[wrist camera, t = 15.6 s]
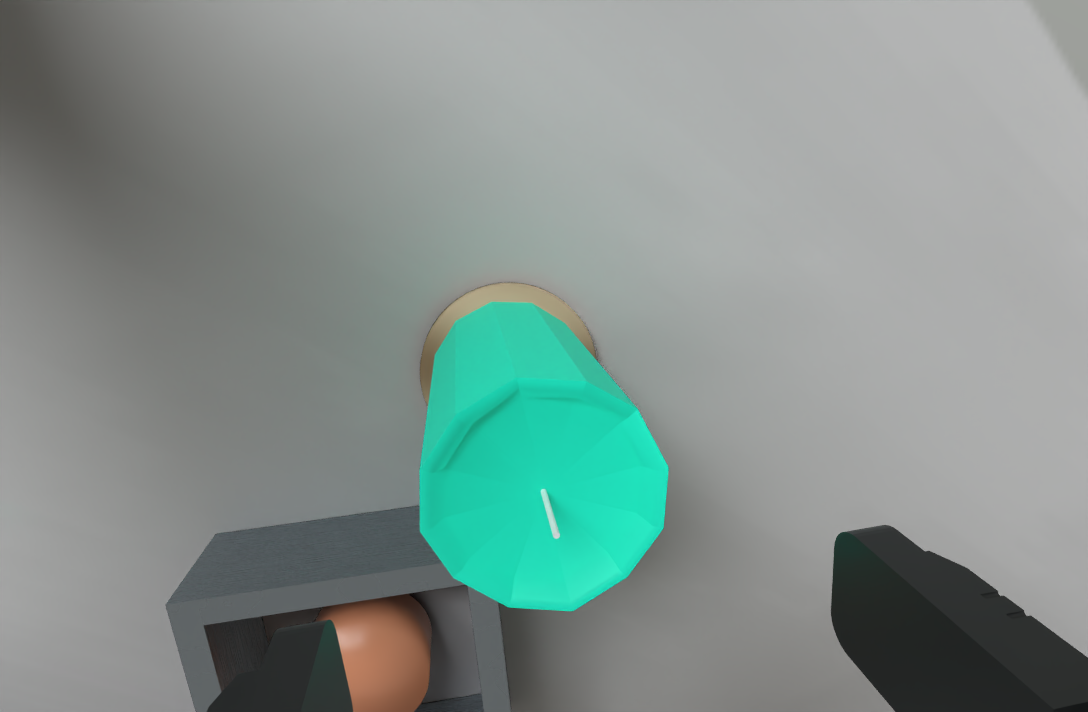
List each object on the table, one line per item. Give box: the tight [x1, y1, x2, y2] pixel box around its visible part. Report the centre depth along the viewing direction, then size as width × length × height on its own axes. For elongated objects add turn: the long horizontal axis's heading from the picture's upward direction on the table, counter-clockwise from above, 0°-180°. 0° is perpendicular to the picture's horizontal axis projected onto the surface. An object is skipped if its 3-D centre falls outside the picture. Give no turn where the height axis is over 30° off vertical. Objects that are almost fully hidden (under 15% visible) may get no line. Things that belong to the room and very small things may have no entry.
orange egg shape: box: [315, 594, 432, 712], centre depth 25 cm, size 5×5×2 cm
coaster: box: [420, 282, 596, 406], centre depth 25 cm, size 7×7×1 cm
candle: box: [420, 302, 669, 611], centre depth 19 cm, size 6×6×12 cm
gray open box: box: [166, 506, 511, 712], centre depth 25 cm, size 11×11×4 cm
